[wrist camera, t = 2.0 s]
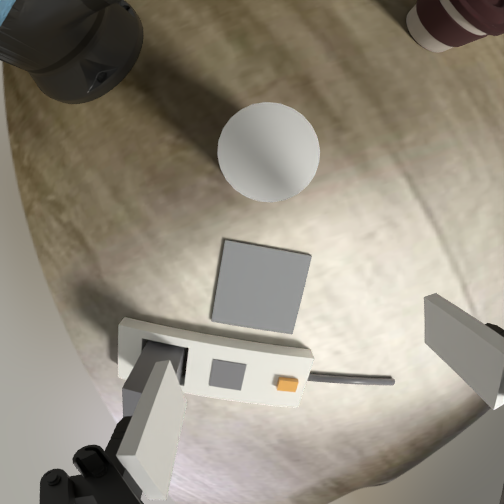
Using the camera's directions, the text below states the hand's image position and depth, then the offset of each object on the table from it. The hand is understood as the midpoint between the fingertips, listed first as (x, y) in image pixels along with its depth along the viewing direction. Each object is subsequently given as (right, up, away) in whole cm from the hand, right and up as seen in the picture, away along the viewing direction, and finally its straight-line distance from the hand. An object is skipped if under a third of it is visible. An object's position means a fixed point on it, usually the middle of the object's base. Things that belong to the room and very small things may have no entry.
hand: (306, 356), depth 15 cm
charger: (-13, -8, +25) cm, 29 cm away
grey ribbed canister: (-2, +15, +20) cm, 25 cm away
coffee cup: (+21, +35, +17) cm, 45 cm away
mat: (-2, +1, +23) cm, 23 cm away
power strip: (-1, -10, +26) cm, 28 cm away
